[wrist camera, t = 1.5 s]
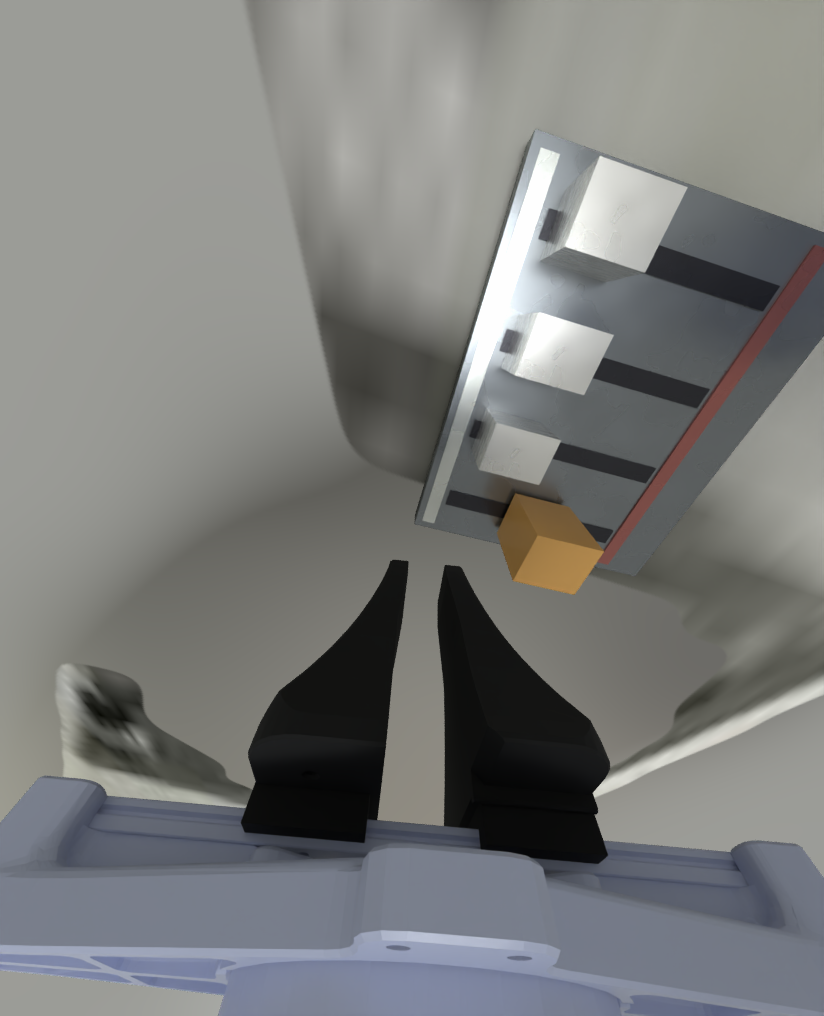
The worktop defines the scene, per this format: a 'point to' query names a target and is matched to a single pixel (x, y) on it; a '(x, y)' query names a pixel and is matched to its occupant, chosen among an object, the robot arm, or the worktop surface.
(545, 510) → the toggle
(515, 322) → the breaker panel
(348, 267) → the worktop surface
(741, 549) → the worktop surface
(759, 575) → the worktop surface
